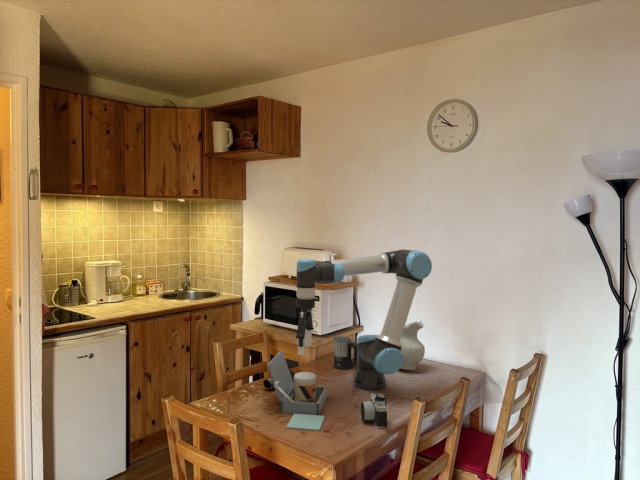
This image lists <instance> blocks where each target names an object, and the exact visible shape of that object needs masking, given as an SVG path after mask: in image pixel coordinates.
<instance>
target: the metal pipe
mask: <svg viewBox="0 0 640 480" xmlns="http://www.w3.org/2000/svg"><path fill="white" fill-rule="evenodd" d="M289 372H290V374H291V377H292V380H293V381H294V375H295V374H296V371H293V370H292V369H289ZM262 382H263V383H262V384H263V388H265V389H266V390H271V389H273V388H274V384H273V381H272V378H271V377H268V378H265V379H264V380H263V381H262Z"/></svg>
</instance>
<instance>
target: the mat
mask: <svg viewBox="0 0 640 480" xmlns="http://www.w3.org/2000/svg"><path fill="white" fill-rule="evenodd" d="M325 419H326V415H320V414H319V415H306V414H292V416H291V418H290V420H289V422H288V423H287V425H286V429H288V430H299V431H300V430H301V431H312V432H320V430H321V429H322V426H323V423H324V420H325Z"/></svg>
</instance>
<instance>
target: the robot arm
mask: <svg viewBox="0 0 640 480" xmlns="http://www.w3.org/2000/svg"><path fill="white" fill-rule="evenodd" d="M296 262H297V263H296V270H295V271H296V288H295V289H294V291H295V292H296V294H295V295H296V302H295V307H296V308H297V309H300V311H299V313H298V322H297V330H296V331H297V332H296V336H295V339H297V356H305V355H306V347H312V344H313V343H312V342H313V341H312V338H313V331H314V329H315V328H314V326H313V325H314V324H313V313H312V311H313V310H312V309H314V308H315V307H316V298H315V297H316V283H320V284H321V283H334V284H335V283H341V282H343V280H344V277H346V276H347V277H348V276H355V275H364V274H374V273H382V274H384V275H385V274H395V279H396V280H397V282H396V285H395V289H394V292H393V295H392V299H391V302H390V305H389V308H388V311H387V315H386V317H385V320H384V323H383V326H382V330H381V332H380V334H364V335H359V336H358V337H357V340H356V341H357V342H356V343H357V364H356V370H355V373H354V376H353V379H352V386H353V387H354V388H356V389H358V390H361V391H367V392H368V391H369V392H370V391H371V392H374V391H375V392H377V391H380V390H385V389H386V388H387V380H386V376H385V375H388V376H389V375H392V374H395V373H397V372H398V371H399V370H400V367H401V365H402V362H403V357H402V354H401V349H402V344H401V342H400V340H401V336H402V333H403V330H404V327H405V326H406V325H407V321H408V317H409V313H410V311H411V307H412V305H413V300H414V297H415V295H416V291H417V289H418V287H421V286H422V285H423V281H424V279H426V278H427V277H429V276H430V275H431V272H432V269H433V264H432V260H431V258H430V257H429V255H428V254H427V253H425V252H423V251H420V250H415V249H414V250H413V249H406V248H405V249H403V248H402V249H398V250H393V251H387V252H381V253H380V254H378V255H367V256H359V257H351V258H340V259H331V260H320V261H319V260H315V259H312V258H309V259H308V258H300V259H298V260H297V261H296Z"/></svg>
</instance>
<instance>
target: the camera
mask: <svg viewBox="0 0 640 480" xmlns="http://www.w3.org/2000/svg"><path fill="white" fill-rule="evenodd" d="M369 395H370V396H369V397H370V398H369V400H366V401H362V402H361V403H360V416H361V420H363V421H373V424H374V426H375V427H376V428H377V429H387V428H388V411H387V402H388V401H387V400H388V399H387V396H385V395H384V394H383V393H375V392H374V393H370V394H369Z"/></svg>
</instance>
